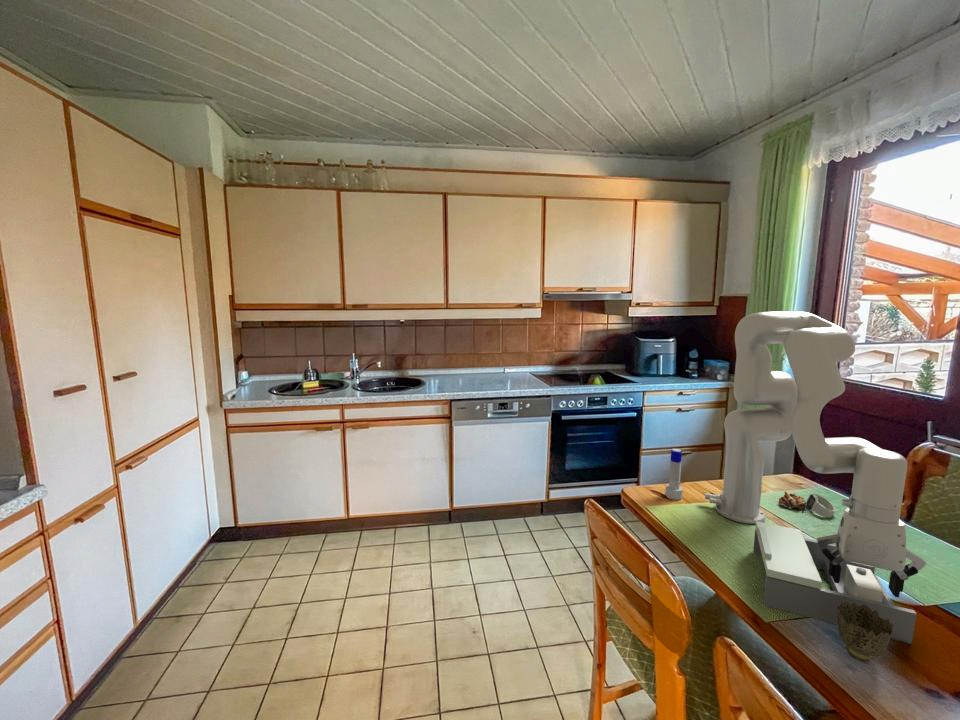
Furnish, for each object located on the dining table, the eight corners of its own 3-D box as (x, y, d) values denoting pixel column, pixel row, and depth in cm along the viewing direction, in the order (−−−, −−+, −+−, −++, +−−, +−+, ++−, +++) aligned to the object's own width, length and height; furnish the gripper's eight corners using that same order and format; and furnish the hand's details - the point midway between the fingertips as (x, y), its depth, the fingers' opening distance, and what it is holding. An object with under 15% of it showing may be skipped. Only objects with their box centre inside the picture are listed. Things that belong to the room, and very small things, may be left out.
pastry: (804, 498, 136) (806, 488, 136) (807, 515, 126) (808, 503, 126) (778, 493, 140) (779, 483, 140) (778, 508, 130) (779, 497, 130)
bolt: (683, 501, 135) (666, 499, 136) (680, 494, 139) (664, 492, 141) (686, 453, 132) (669, 452, 134) (683, 448, 137) (666, 446, 138)
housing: (763, 604, 90) (766, 577, 89) (753, 551, 108) (755, 528, 107) (911, 644, 79) (916, 613, 78) (871, 577, 98) (875, 552, 97)
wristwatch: (801, 502, 133) (803, 487, 133) (826, 505, 131) (828, 490, 131) (814, 517, 125) (816, 501, 124) (840, 520, 123) (842, 504, 122)
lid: (766, 576, 89) (768, 564, 88) (755, 527, 107) (756, 517, 107) (821, 589, 85) (822, 577, 84) (799, 536, 103) (800, 526, 103)
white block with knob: (854, 608, 88) (857, 583, 87) (843, 584, 95) (846, 562, 94) (880, 614, 86) (883, 589, 85) (867, 590, 93) (870, 567, 92)
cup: (821, 640, 80) (826, 602, 79) (857, 637, 81) (863, 599, 80) (859, 675, 73) (865, 633, 72) (899, 672, 74) (905, 630, 72)
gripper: (825, 508, 88) (816, 584, 91) (941, 528, 80) (927, 611, 83) (817, 493, 95) (808, 564, 97) (923, 510, 87) (911, 587, 90)
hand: (863, 585), depth 90 cm, fingers open, 9 cm apart
